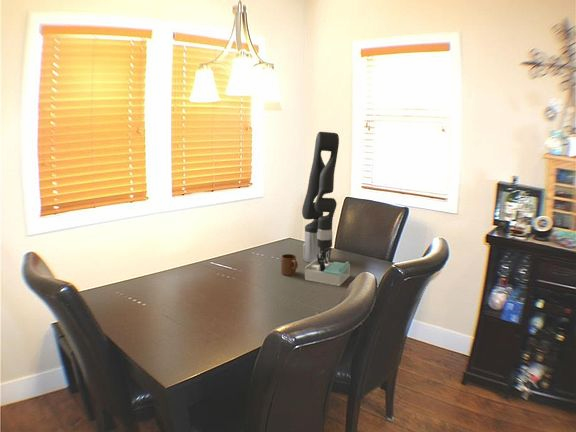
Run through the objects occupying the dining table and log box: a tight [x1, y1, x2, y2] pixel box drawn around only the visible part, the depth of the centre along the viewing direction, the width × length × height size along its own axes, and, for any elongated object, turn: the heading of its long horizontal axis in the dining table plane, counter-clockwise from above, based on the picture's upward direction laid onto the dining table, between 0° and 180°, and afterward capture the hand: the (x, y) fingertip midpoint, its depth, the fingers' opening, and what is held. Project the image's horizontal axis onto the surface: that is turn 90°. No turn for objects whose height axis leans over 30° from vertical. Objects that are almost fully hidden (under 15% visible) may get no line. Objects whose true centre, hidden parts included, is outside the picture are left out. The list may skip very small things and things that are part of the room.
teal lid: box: [323, 261, 351, 275], centre depth 222 cm, size 8×15×3 cm, turn 154°
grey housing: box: [304, 259, 351, 287], centre depth 225 cm, size 18×15×6 cm
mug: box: [280, 253, 299, 277], centre depth 228 cm, size 12×8×9 cm, turn 30°
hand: (323, 269), depth 226 cm, fingers closed on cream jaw, 3 cm apart
